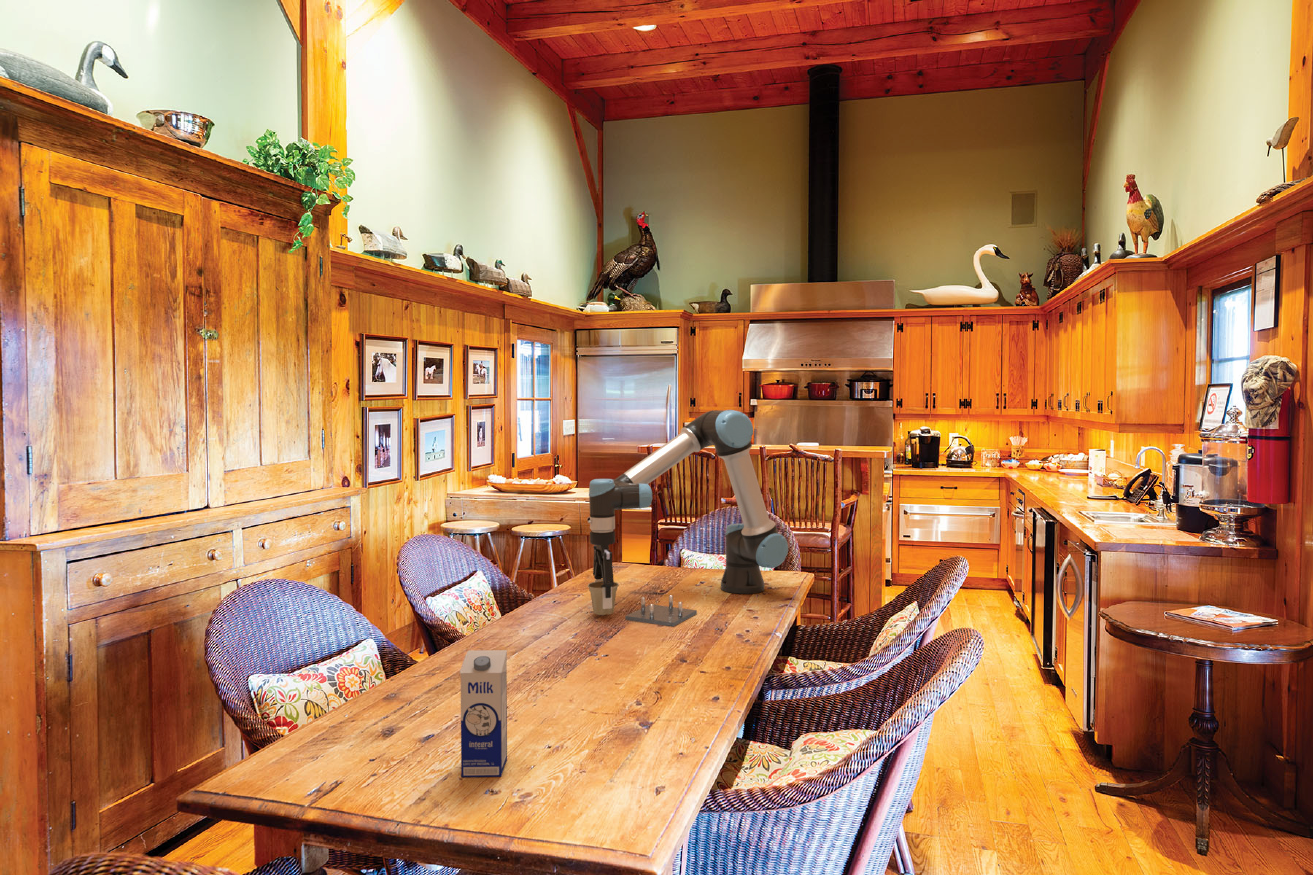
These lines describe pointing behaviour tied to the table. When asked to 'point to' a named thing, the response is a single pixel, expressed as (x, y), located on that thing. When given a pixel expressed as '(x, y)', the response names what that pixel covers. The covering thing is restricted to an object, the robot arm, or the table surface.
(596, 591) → the flower pot
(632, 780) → the table surface
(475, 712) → the milk carton
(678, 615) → the plate
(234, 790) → the table surface
